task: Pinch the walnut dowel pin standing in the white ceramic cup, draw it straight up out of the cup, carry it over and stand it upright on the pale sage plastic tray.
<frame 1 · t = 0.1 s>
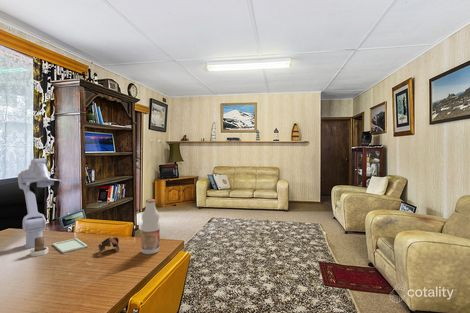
hand: (47, 195, 127), 32 cm above the table, tool tilted 50°, fingers open, 7 cm apart
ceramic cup: (39, 254, 134), on the table
sage tray: (70, 247, 145), on the table
brown arched lump: (110, 251, 140), on the table
dowel pin: (39, 253, 134), resting on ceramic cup
fruit juice: (150, 251, 140), on the table
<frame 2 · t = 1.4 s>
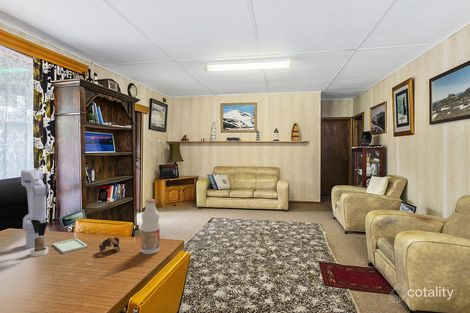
hand: (39, 234, 134), 10 cm above the table, tool pointing down, fingers open, 7 cm apart
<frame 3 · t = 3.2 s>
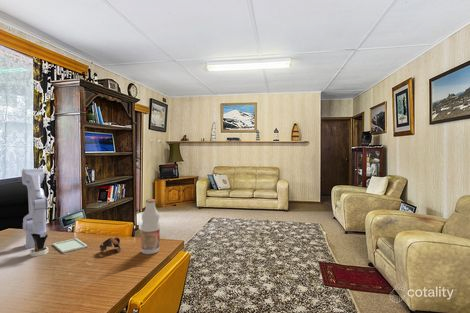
hand: (39, 247, 134), 3 cm above the table, tool pointing down, fingers closed on dowel pin, 4 cm apart
dowel pin: (39, 253, 134), resting on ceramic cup, touching gripper
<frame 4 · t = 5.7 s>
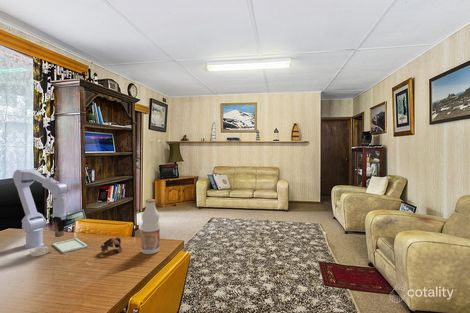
hand: (59, 230, 141), 10 cm above the table, tool pointing down, fingers closed on dowel pin, 4 cm apart
dowel pin: (59, 235, 141), point 8 cm above the table, touching gripper
when the fingers open (5 cm above the table, at t = 8.2 s): dowel pin stays where it is, resting on sage tray.
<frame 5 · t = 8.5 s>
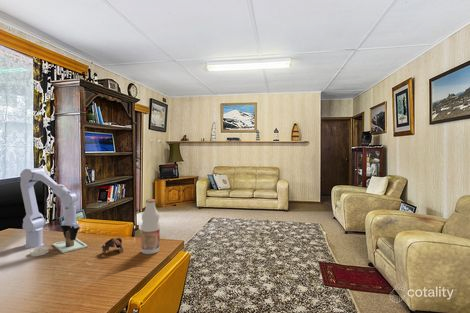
hand: (70, 238, 145), 5 cm above the table, tool pointing down, fingers open, 6 cm apart
dowel pin: (69, 245, 145), point 1 cm above the table, touching sage tray
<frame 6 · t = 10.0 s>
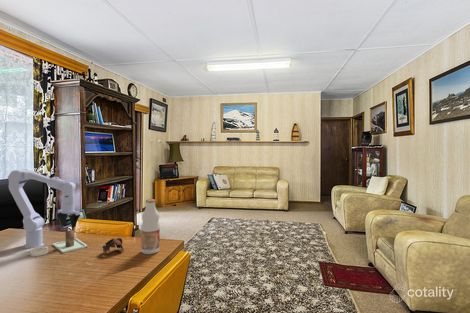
hand: (68, 226, 149), 10 cm above the table, tool pointing down, fingers open, 7 cm apart
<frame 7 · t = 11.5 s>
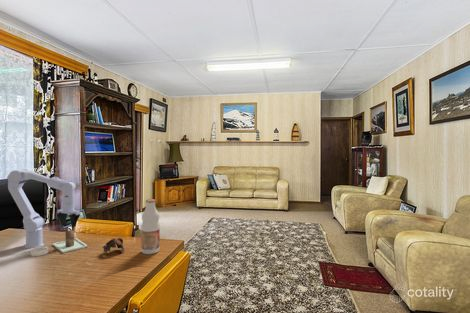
hand: (68, 226, 150), 10 cm above the table, tool pointing down, fingers open, 7 cm apart
at the end: dowel pin inside the target area on the sage tray (0.1 cm from its centre), point 0.8 cm above the sage tray's base; dowel pin tilted 0°; the gripper is holding nothing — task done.
